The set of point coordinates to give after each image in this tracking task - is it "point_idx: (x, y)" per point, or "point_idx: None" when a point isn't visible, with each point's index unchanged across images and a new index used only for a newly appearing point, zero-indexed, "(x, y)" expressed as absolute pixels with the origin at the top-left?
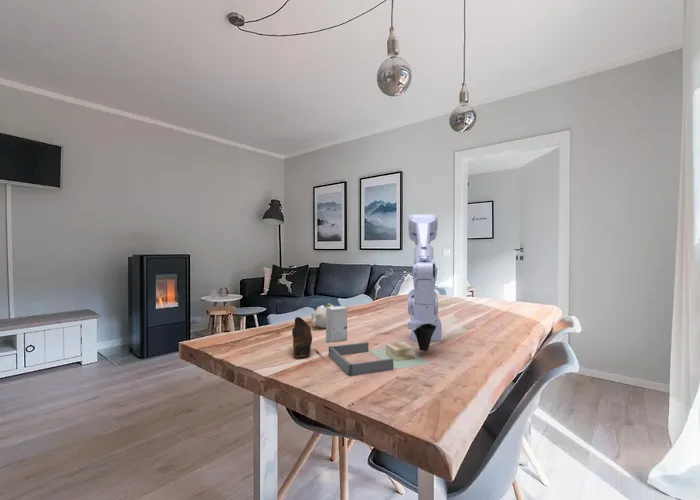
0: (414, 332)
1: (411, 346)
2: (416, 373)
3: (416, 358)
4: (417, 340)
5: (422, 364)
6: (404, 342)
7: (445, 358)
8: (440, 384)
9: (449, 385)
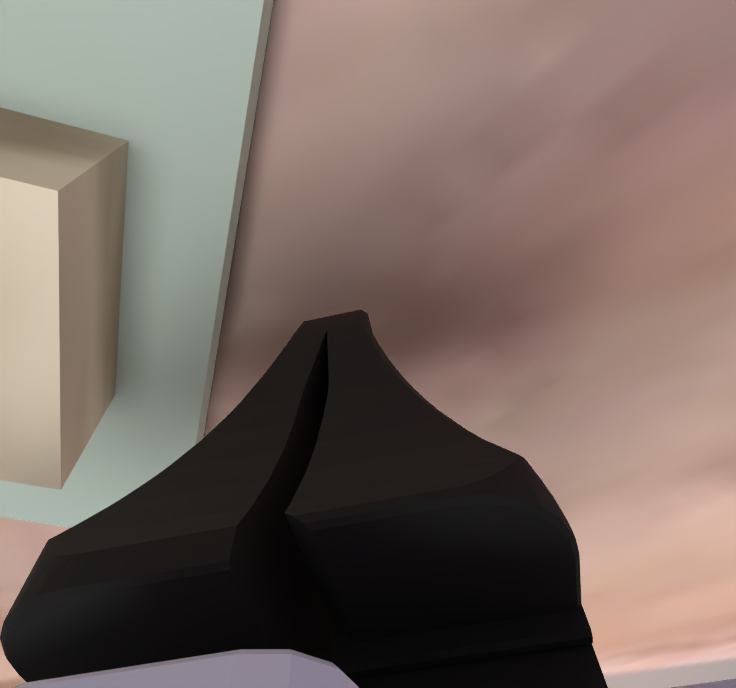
0: (141, 491)
1: (40, 434)
2: None
3: (130, 402)
4: (251, 391)
5: (81, 520)
6: (42, 228)
7: (532, 412)
8: None
9: None
